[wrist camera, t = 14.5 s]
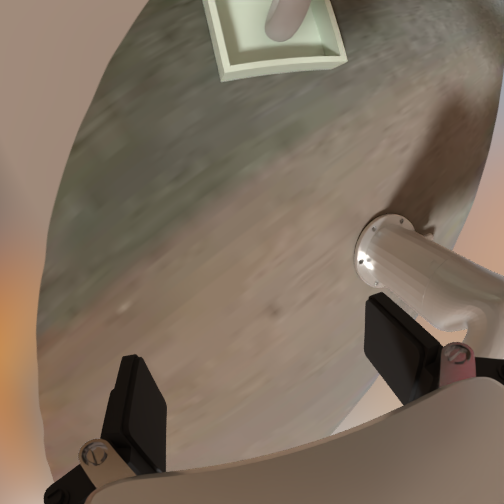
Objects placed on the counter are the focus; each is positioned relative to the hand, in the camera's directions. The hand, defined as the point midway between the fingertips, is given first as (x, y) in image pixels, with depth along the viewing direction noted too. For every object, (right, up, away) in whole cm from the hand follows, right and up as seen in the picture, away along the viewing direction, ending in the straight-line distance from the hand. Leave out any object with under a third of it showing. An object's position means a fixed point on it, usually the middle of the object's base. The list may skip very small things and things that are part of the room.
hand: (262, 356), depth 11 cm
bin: (+2, +35, +20) cm, 40 cm away
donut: (+3, +35, +20) cm, 40 cm away
